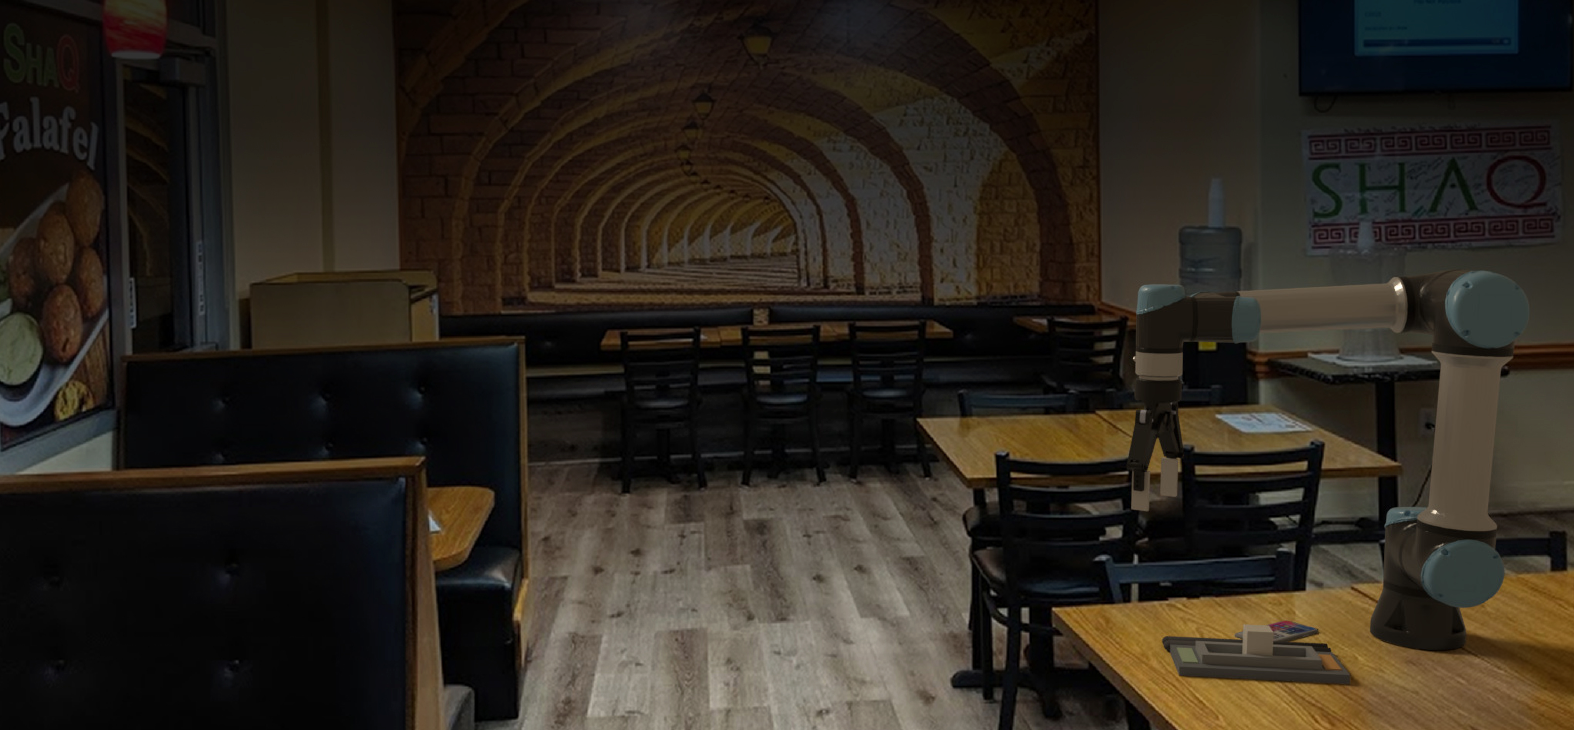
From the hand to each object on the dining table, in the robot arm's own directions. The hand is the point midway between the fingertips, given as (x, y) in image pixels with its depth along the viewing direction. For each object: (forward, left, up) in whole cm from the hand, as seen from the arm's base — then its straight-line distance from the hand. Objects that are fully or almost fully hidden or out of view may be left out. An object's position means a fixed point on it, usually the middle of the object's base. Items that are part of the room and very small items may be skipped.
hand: (1154, 502), depth 214 cm
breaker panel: (-16, +6, -26) cm, 31 cm away
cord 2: (-16, -1, -26) cm, 30 cm away
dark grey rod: (-16, -3, -26) cm, 30 cm away
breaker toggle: (-16, +6, -24) cm, 30 cm away
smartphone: (-23, -13, -26) cm, 37 cm away
